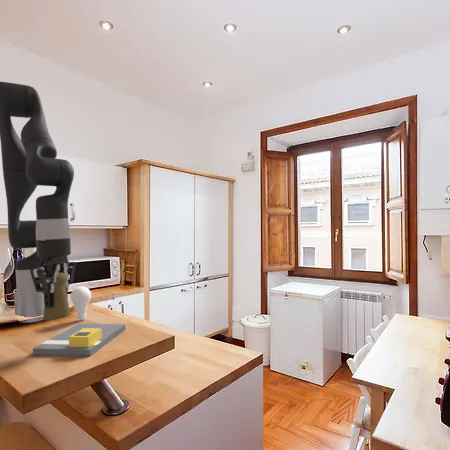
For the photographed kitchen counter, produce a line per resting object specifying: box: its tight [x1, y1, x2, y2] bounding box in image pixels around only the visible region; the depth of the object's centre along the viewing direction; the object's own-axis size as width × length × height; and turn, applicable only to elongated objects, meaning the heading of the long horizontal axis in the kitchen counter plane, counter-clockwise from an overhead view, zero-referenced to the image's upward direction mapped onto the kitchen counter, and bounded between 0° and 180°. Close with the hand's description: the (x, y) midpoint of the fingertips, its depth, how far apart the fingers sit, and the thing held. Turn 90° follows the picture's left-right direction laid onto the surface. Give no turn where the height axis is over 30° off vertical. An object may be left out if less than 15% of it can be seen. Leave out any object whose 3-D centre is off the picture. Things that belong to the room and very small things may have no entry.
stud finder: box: [69, 328, 102, 348], centre depth 77 cm, size 5×6×3 cm
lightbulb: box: [69, 285, 92, 321], centre depth 101 cm, size 6×6×11 cm
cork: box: [43, 272, 71, 321], centre depth 78 cm, size 6×6×11 cm
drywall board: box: [32, 323, 126, 357], centre depth 83 cm, size 15×18×2 cm
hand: (56, 305), depth 78 cm, fingers closed on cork, 4 cm apart
